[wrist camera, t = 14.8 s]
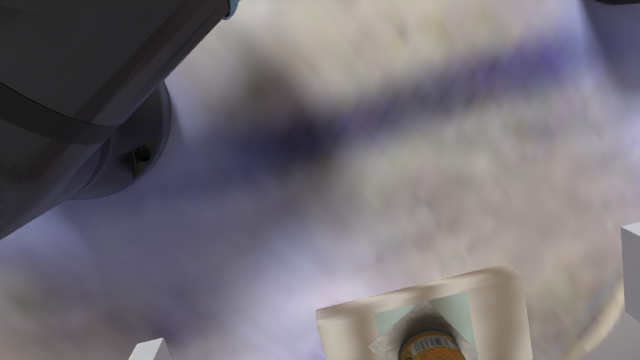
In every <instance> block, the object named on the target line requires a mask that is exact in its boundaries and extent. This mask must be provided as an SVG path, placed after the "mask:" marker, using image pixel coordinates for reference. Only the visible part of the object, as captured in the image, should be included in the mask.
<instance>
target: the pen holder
mask: <svg viewBox="0 0 640 360" xmlns="http://www.w3.org/2000/svg"><path fill="white" fill-rule="evenodd" d="M597 1H600V2H602V3H606V4H612V5H622V4H634V3H640V0H597Z"/></svg>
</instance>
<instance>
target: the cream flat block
mask: <svg viewBox="0 0 640 360" xmlns="http://www.w3.org/2000/svg"><path fill="white" fill-rule="evenodd" d="M425 300H426V301H427V302H428V303H429V304H430V305H431V306H432V307H433V308H434V309H436V310H437V311H438V312H439V313H440V314H441V315H442V316H443V317H444V318H445V319H446V321H447V322H448V323H449V324H451V325H452V326H453V327H454V328H455V329H456V330H457V331H458V332H459V333H460V334H461V335H462V336H463V337H464V338H465V339H466V340H467V341H468V342H469V343H470V344H471V345H472V346H473V347H474V348H475V349H476V350H477V351H478V352H479V353H480V354H479V355H477V356H476V357H475V358H474V359H472V360H533V357H532V349H531V341H530V333H529V325H528V317H527V308H526V300H525V292H524V284H523V277H522V276H520V275H519V274H518V273H517V272H516V271H515V270H514V269H513V268H512V267H511V266H510V265H509V264H504V265H500V266H496V267H491V268H487V269H483V270H479V271H475V272H471V273H467V274H463V275H458V276H454V277H450V278H446V279H442V280H438V281H434V282H430V283H425V284H421V285H417V286H413V287H409V288H405V289H401V290H397V291H392V292H388V293H384V294H380V295H376V296H372V297H368V298H364V299H359V300H355V301H351V302H347V303H343V304H339V305H335V306H331V307H326V308H322V309H318V310H316V316H317V327H318V331H319V335H320V338H321V342H322V345H323V349H324V353H325V356H326V360H381V359H380V358H379V357H378V356H377V355H376V354H375V353H373V352H372V351H371V350H370V349H369V348H368V346H369V345H370V344H372V343H373V342H374V341H375V340H376V339H377V338H378V337H379V336H381V335H382V334H383V333H385V332H386V331H387V330H388V329H389V328H390V326H393V325H394V324H395V323H396V322H397V321H399V320H400V319H401V318H402V317H403V316H405V315H406V314H408V313H409V312H410V311H411V310H412V309H414V308H415V307H416V306H418V305H420V304H421V303H422V302H423V301H425Z"/></svg>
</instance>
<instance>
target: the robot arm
mask: <svg viewBox="0 0 640 360" xmlns="http://www.w3.org/2000/svg"><path fill="white" fill-rule="evenodd" d="M239 1H240V0H0V240H1V239H3V238H4V237H6V236H8V235H9V234H11V233H13V232H14V231H16V230H17V229H19V228H21V227H22V226H24V225H26V224H27V223H29V222H31V221H32V220H34V219H35V218H37V217H39V216H40V215H42V214H44V213H45V212H47V211H49V210H50V209H52V208H53V207H55V206H57V205H58V204H60V203H62V202H63V201H65V200H85V199H95V198H100V197H104V196H108V195H111V194H114V193H116V192H119V191H121V190H123V189H125V188H126V187H128V186H130V185H131V184H133V183H134V182H135V181H137V180H138V179H140V178H141V177H142V176H143V175H145V174H146V173H147V172H148V171H149V170H150V169H151V168H152V167H153V166H154V164H155V163H156V162H157V160H158V159H159V157H160V155H161V154H162V152H163V150H164V147H165V145H166V142H167V139H168V135H169V130H170V122H171V111H170V102H169V97H168V93H167V90H166V87H165V84H164V79H165V78H166V77H167V76H168V75H169V74H170V73H171V72H172V71H173V70H174V69H175V68H176V67H177V66H178V65H179V64H180V63H181V62H182V61H183V60H184V58H185V57H186V56H187V55H188V54H189V53H190V52H191V51H192V50H193V49H194V48H195V47H196V46H197V45H198V44H199V43H200V42H201V41H202V40H203V39H204V37H205V36H206V35H207V34H208V33H209V32H210V31H211V30H212V29H213V28H214V27H215V26H216V25H217V24H218V23H219V22H220V21H221V20H222V19H223V20H228V19H230V18H231V17H232V16H233V15H234V13H235V10H236V8H237V6H238V2H239ZM621 240H622V259H623V278H624V297H625V312H627V313H628V314H629V315H631V316H632V317H633V318H635V319H636V320H637V321H639V322H640V222H638V223H634V224H630V225H625V226H621ZM128 360H172V358H171V355H170V353H169V350H168V348H167V345H166V343H165V340H164V338H159V339H155V340H151V341H147V342H143V343H139V344H137V345H136V347H135V349H134V350H133V352H132V354H131V356H130V358H129V359H128Z"/></svg>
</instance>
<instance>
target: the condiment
mask: <svg viewBox="0 0 640 360" xmlns="http://www.w3.org/2000/svg"><path fill="white" fill-rule="evenodd" d="M368 348H369V349H370V350H371V351H372V352H373V353H375V354H376V355H377V356H378V357H379V358H380V359H381V360H472V359H474V358H475V357H476V356H477V355H479V354H480V353H479V352H478V351H477V350H476V349H475V348H474V347H473V346H472V345H471V344H470V343H469V342H468V341H467V340H466V339H465V338H464V337H463V336H462V335H461V334H460V333H459V332H458V331H457V330H456V329H455V328H454V327H453V326H452V325H451V324H449V323H448V322H447V321H446V319H445V318H444V317H443V316H442V315H441V314H440V313H439V312H438V311H437V310H436V309H434V308H433V307H432V306H431V305H430V304H429V303H428V302H427V301H426V300H425V301H423V302H422V303H421V304H420V305H418V306H416V307H415V308H414V309H412V310H411V311H410V312H409V313H408V314H406V315H405V316H403V317H402V318H401V319H400V320H399V321H397V322H396V323H395V324H394V325H393V326H390V328H389V329H388V330H387V331H386V332H385V333H383V334H382V335H381V336H379V337H378V338H377V339H376V340H375V341H374V342H373V343H372V344H370V345H369V346H368Z"/></svg>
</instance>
